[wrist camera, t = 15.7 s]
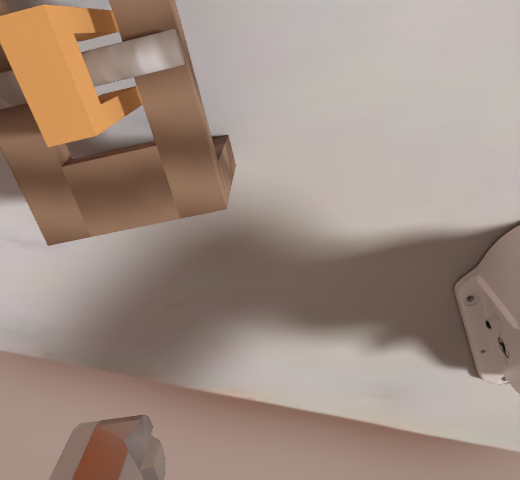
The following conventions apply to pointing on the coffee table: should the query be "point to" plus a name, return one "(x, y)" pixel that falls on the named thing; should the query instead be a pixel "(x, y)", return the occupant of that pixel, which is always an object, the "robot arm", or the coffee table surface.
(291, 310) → the coffee table surface
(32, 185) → the wooden table with hole
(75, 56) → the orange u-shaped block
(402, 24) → the coffee table surface
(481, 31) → the coffee table surface
